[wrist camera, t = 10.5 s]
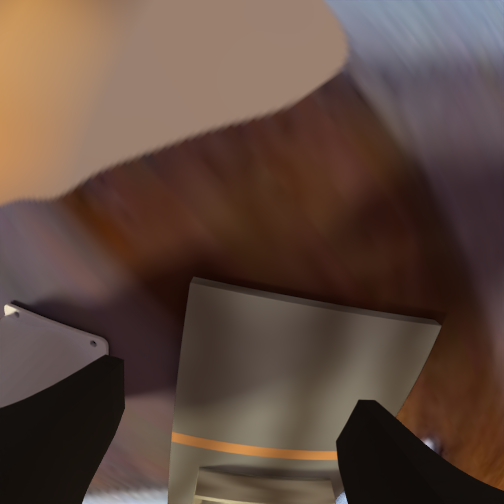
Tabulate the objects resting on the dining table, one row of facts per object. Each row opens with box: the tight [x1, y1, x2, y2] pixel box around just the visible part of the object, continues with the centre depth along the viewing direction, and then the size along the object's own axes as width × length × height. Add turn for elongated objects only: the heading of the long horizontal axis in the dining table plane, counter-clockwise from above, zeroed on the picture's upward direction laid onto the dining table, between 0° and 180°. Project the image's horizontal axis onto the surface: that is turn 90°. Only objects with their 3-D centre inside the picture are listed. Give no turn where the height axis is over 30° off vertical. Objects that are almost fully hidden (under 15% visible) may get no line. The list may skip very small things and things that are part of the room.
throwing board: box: [168, 277, 441, 504], centre depth 19 cm, size 16×29×4 cm, turn 168°
